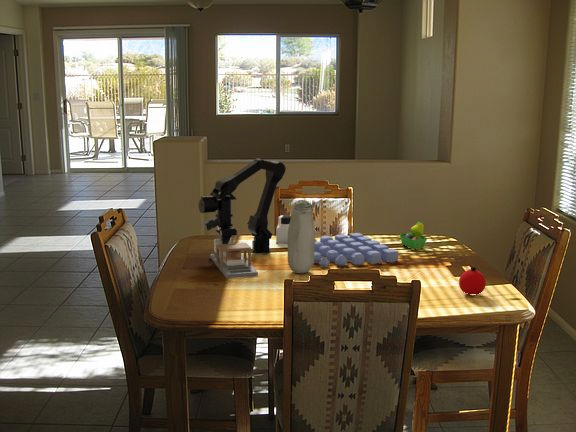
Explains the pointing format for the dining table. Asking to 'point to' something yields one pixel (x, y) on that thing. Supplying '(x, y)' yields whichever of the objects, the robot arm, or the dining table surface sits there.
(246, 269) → the grey piece
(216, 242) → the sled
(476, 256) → the dining table surface
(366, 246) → the blocks
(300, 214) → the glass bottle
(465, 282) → the ornament
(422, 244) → the fruit basket
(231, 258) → the block
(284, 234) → the medicine bottle
